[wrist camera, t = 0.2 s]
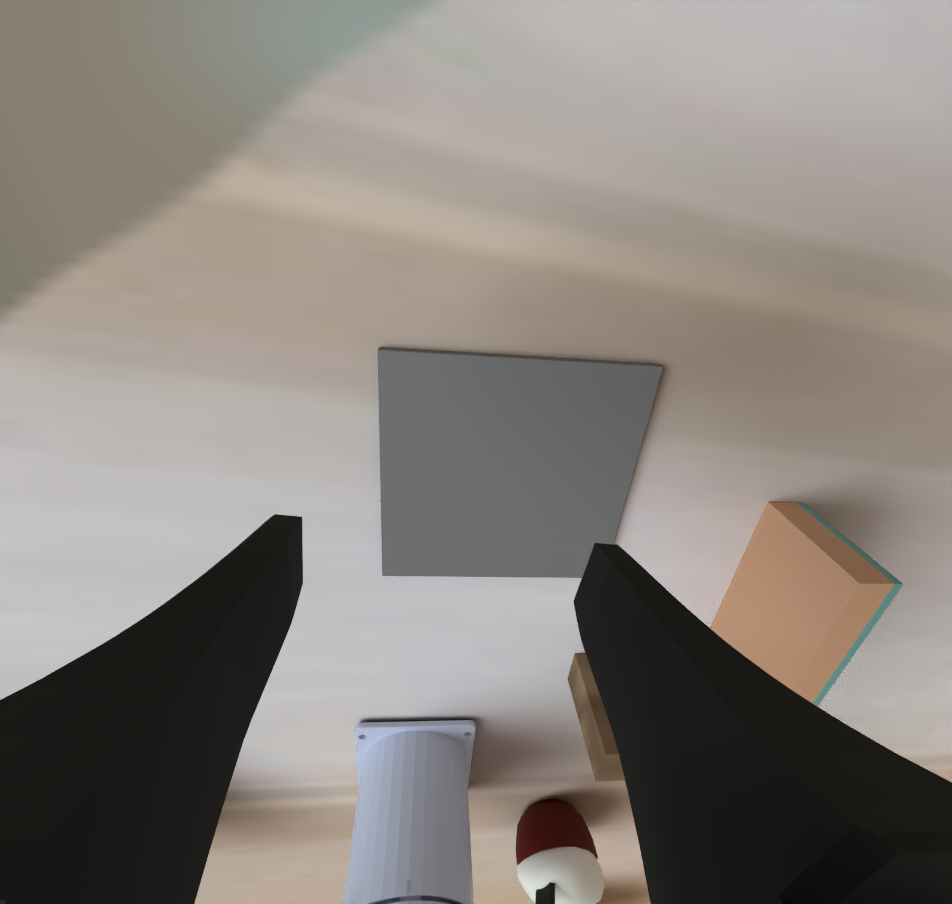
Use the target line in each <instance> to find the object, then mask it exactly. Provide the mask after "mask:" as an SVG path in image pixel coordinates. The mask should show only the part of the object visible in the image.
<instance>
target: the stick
mask: <svg viewBox="0 0 952 904" xmlns="http://www.w3.org/2000/svg"><path fill="white" fill-rule="evenodd" d="M568 682H569V685H570V689H571V693H572V696H573V700H574V703H575V707H576V711H577V714H578V718H579V722H580V725H581V729H582V732H583V736H584V740H585V743H586V747H587V751H588V754H589V758H590V761H591V765H592V769H593V772H594V776H595V780H596V781H611V780H625V777H624V773H623V769H622V765H621V761H620V757H619V753H618V749H617V745H616V742H615V739H614V735H613V732H612V729H611V726H610V723H609V720H608V717H607V714H606V711H605V708H604V705H603V703H602V700H601V697H600V694H599V691H598V688H597V685H596V682H595V679H594V676H593V673H592V671H591V668H590V665H589V662H588V659H587V656H586V653H579V654H575V655H574V658H573V662H572V666H571V669H570V673H569V677H568Z"/></svg>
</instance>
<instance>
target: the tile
mask: <svg viewBox="0 0 952 904" xmlns="http://www.w3.org/2000/svg"><path fill="white" fill-rule="evenodd" d="M902 585H903V583H901V582H900V581H899V580H898V579H897V578H895V577H894V576H893V575H892V574H890V573H889V572H888V571H887V570H885V569H884V568H883V567H882V566H880V565H879V564H878V563H877V562H876V561H874V560H873V559H872V558H871V557H869V556H868V555H867V554H866V553H864V552H863V551H862V550H861V549H859V548H858V547H857V546H856V545H855V544H853V543H852V542H851V541H850V540H848V539H847V538H846V537H845V536H843V535H842V534H841V533H840V532H839V531H837V530H836V529H835V528H834V527H832V526H831V525H830V524H829V523H827V522H826V521H825V520H824V519H822V518H821V517H820V516H819V515H818V514H816V513H815V512H814V511H813V510H811V509H810V508H809V507H808V506H806V505H805V504H804V503H795V502H768V503H767V505H766V507H765V509H764V511H763V514H762V516H761V518H760V520H759V522H758V525H757V527H756V529H755V531H754V533H753V535H752V538H751V540H750V542H749V544H748V546H747V548H746V551H745V553H744V555H743V557H742V559H741V561H740V564H739V566H738V568H737V570H736V572H735V575H734V577H733V579H732V581H731V583H730V585H729V588H728V590H727V592H726V594H725V596H724V598H723V601H722V603H721V605H720V607H719V609H718V611H717V614H716V616H715V618H714V620H713V622H712V624H711V627H710V629H711V630H713V631H714V632H715V633H716V634H717V635H718V636H720V637H721V638H722V639H723V640H725V641H726V642H727V643H728V644H730V645H731V646H732V647H733V648H735V649H736V650H737V651H738V652H740V653H741V654H742V655H744V656H745V657H746V658H748V659H749V660H751V661H752V662H753V663H755V664H756V665H757V666H759V667H760V668H761V669H763V670H764V671H765V672H767V673H768V674H769V675H771V676H772V677H774V678H775V679H777V680H778V681H779V682H781V683H782V684H784V685H785V686H787V687H788V688H790V689H791V690H793V691H794V692H796V693H797V694H799V695H800V696H802V697H803V698H805V699H806V700H808V701H809V702H811V703H813V704H814V705H816V706H817V707H818V705H819V704H820V702H821V701H822V699H823V698H824V697H825V695H826V694H827V692H828V691H829V689H830V688H831V687H832V685H833V684H834V682H835V681H836V679H837V678H838V677H839V675H840V674H841V672H842V671H843V669H844V668H845V667H846V665H847V664H848V662H849V661H850V659H851V658H852V657H853V655H854V654H855V652H856V651H857V649H858V648H859V647H860V645H861V644H862V642H863V641H864V640H865V638H866V637H867V635H868V634H869V632H870V631H871V630H872V628H873V627H874V625H875V624H876V622H877V621H878V620H879V618H880V617H881V615H882V614H883V612H884V611H885V610H886V608H887V607H888V605H889V604H890V602H891V601H892V600H893V598H894V597H895V595H896V594H897V592H898V591H899V590H900V588H901V587H902Z"/></svg>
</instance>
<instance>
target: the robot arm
mask: <svg viewBox="0 0 952 904" xmlns="http://www.w3.org/2000/svg"><path fill="white" fill-rule="evenodd" d="M302 584H303V560H302V517H297V516H286V515H273V516H272V517H271V518H269V519H268V520H267V521H266V522H265V523H264V524H262V525H261V526H260V527H259V528H258V529H257V530H256V531H254V532H253V533H252V534H251V535H250V536H249V537H248V538H247V539H245V540H244V541H243V542H242V543H241V544H240V545H238V546H237V547H236V548H235V549H234V550H233V551H231V552H230V553H229V554H228V555H227V556H225V557H224V558H223V559H222V560H220V561H219V562H218V563H217V564H216V565H214V566H213V567H212V568H211V569H209V570H208V571H207V572H206V573H205V574H203V575H202V576H201V577H199V578H198V579H197V580H196V581H194V582H193V583H191V584H190V585H189V586H187V587H186V588H185V589H183V590H182V591H181V592H179V593H178V594H177V595H175V596H174V597H173V598H171V599H170V600H169V601H167V602H166V603H165V604H163V605H162V606H160V607H159V608H157V609H156V610H155V611H153V612H152V613H150V614H149V615H147V616H146V617H144V618H143V619H141V620H140V621H138V622H137V623H135V624H134V625H132V626H131V627H129V628H128V629H126V630H124V631H123V632H121V633H120V634H118V635H117V636H115V637H114V638H112V639H110V640H109V641H107V642H105V643H104V644H102V645H100V646H98V647H97V648H95V649H93V650H91V651H90V652H88V653H86V654H84V655H83V656H81V657H79V658H77V659H76V660H74V661H72V662H70V663H68V664H67V665H65V666H63V667H61V668H60V669H58V670H56V671H54V672H53V673H51V674H49V675H47V676H46V677H44V678H42V679H40V680H38V681H36V682H34V683H33V684H31V685H29V686H27V687H25V688H23V689H21V690H19V691H17V692H15V693H13V694H11V695H9V696H7V697H5V698H4V699H2V700H0V904H194V903H195V899H196V896H197V892H198V889H199V885H200V882H201V878H202V875H203V871H204V868H205V864H206V861H207V857H208V854H209V850H210V847H211V844H212V840H213V837H214V834H215V831H216V827H217V824H218V821H219V817H220V814H221V811H222V807H223V804H224V801H225V797H226V794H227V791H228V788H229V785H230V781H231V778H232V775H233V772H234V769H235V766H236V762H237V759H238V756H239V753H240V750H241V747H242V743H243V741H244V738H245V735H246V732H247V730H248V727H249V724H250V722H251V719H252V717H253V714H254V712H255V709H256V707H257V705H258V702H259V700H260V698H261V695H262V693H263V690H264V688H265V686H266V683H267V681H268V678H269V676H270V674H271V671H272V669H273V666H274V664H275V662H276V659H277V657H278V654H279V652H280V650H281V647H282V645H283V642H284V640H285V638H286V635H287V633H288V630H289V628H290V625H291V623H292V619H293V616H294V612H295V609H296V606H297V602H298V598H299V595H300V591H301V587H302ZM574 606H575V611H576V617H577V622H578V627H579V631H580V636H581V640H582V643H583V647H584V650H585V653H586V656H587V659H588V662H589V665H590V668H591V671H592V673H593V676H594V679H595V682H596V685H597V688H598V691H599V694H600V697H601V700H602V703H603V705H604V708H605V711H606V714H607V717H608V720H609V723H610V726H611V729H612V732H613V735H614V739H615V742H616V745H617V749H618V753H619V757H620V761H621V765H622V769H623V773H624V777H625V782H626V786H627V790H628V794H629V799H630V803H631V808H632V812H633V817H634V822H635V826H636V831H637V835H638V840H639V845H640V850H641V855H642V860H643V865H644V871H645V876H646V881H647V886H648V892H649V897H650V902H651V904H952V782H950V781H948V780H946V779H944V778H942V777H940V776H938V775H936V774H934V773H932V772H930V771H929V770H927V769H925V768H923V767H921V766H919V765H917V764H915V763H913V762H911V761H909V760H908V759H906V758H904V757H902V756H900V755H898V754H896V753H894V752H893V751H891V750H889V749H887V748H886V747H884V746H882V745H880V744H879V743H877V742H875V741H873V740H872V739H870V738H868V737H867V736H865V735H863V734H861V733H860V732H858V731H856V730H854V729H853V728H851V727H849V726H848V725H846V724H844V723H843V722H841V721H840V720H838V719H836V718H835V717H833V716H831V715H830V714H828V713H826V712H825V711H823V710H822V709H820V708H819V707H817V706H816V705H814V704H813V703H811V702H809V701H808V700H806V699H805V698H803V697H802V696H800V695H799V694H797V693H796V692H794V691H793V690H791V689H790V688H788V687H787V686H785V685H784V684H782V683H781V682H779V681H778V680H777V679H775V678H774V677H772V676H771V675H769V674H768V673H767V672H765V671H764V670H763V669H761V668H760V667H759V666H757V665H756V664H755V663H753V662H752V661H751V660H749V659H748V658H746V657H745V656H744V655H742V654H741V653H740V652H738V651H737V650H736V649H735V648H733V647H732V646H731V645H730V644H728V643H727V642H726V641H725V640H723V639H722V638H721V637H720V636H718V635H717V634H716V633H715V632H714V631H713V630H711V629H710V628H709V627H708V626H707V625H705V624H704V623H703V622H702V621H701V620H699V619H698V618H697V617H696V616H695V615H694V614H693V613H691V612H690V611H689V610H688V609H687V608H686V607H685V606H684V605H682V604H681V603H680V602H679V601H678V600H677V599H676V598H675V597H674V596H673V595H672V594H670V593H669V592H668V591H667V590H666V589H665V588H664V587H663V586H662V585H661V584H660V583H659V582H658V581H656V580H655V579H654V578H653V577H652V576H651V575H650V574H649V573H648V572H647V571H646V570H645V569H644V568H643V567H642V566H641V565H639V564H638V563H637V562H636V561H635V560H634V559H633V558H632V557H631V556H630V555H629V554H628V553H626V552H625V551H624V550H623V549H622V548H621V547H619V546H618V545H614V544H603V543H595V544H594V546H593V549H592V552H591V555H590V557H589V560H588V563H587V566H586V569H585V571H584V574H583V577H582V580H581V582H580V585H579V588H578V591H577V593H576V596H575V599H574ZM475 731H476V725H475V722H474V721H472V720H450V721H406V722H363V723H359V724H357V725H356V727H355V745H356V758H357V772H358V785H359V791H358V798H357V806H356V813H355V820H354V827H353V835H352V842H351V849H350V856H349V864H348V871H347V878H346V885H345V893H344V900H343V904H474V902H473V882H472V862H471V842H470V822H469V802H468V783H469V776H470V768H471V761H472V754H473V746H474V739H475Z"/></svg>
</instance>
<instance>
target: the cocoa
mask: <svg viewBox="0 0 952 904" xmlns="http://www.w3.org/2000/svg"><path fill="white" fill-rule="evenodd" d="M597 857H598V856H597V853H596V849H595V845H594V842H593V839H592V837H591V834H590V832H589V829H588V827H587V825H586V823H585V821H584V819H583V817H582V816H581V815H580V814H579V813H578V812H577V811H576V810H575V809H574V808H573V807H572V806H571V805H569V804H567V803H565V802H562V801H559V800H546V801H541V802H538V803H536V804H534V805H532V806H530V808H529V809H528V810H527V811H526V812H525V813H524V814H523V815H522V816H521V819H520V821H519V823H518V826H517V836H516V858H517V872H518V880H519V881H520V882H521V883H522V885H523V888H524V890H525V891H526V892H527V894H528V895H529V897H530V898H531V899H532V901H533V902H534V904H596V903H597V902H599V901H600V900H601V898H602V894H603V891H604V887H605V884H606V883H605V880H604V876H603V873H602V869H601V866H600V865H599V863H598V861H597Z"/></svg>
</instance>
